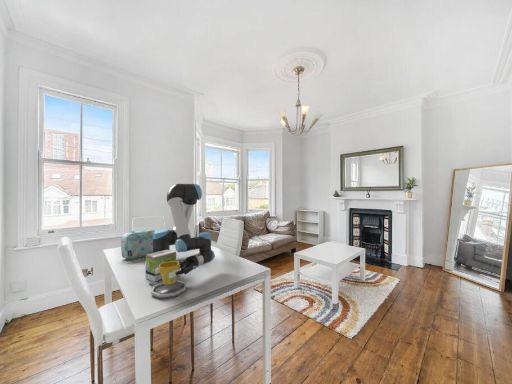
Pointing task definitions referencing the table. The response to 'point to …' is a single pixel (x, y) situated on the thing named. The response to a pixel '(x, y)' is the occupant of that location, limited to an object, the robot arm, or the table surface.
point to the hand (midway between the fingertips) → (162, 273)
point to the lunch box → (137, 244)
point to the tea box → (157, 263)
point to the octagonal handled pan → (168, 290)
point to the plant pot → (168, 271)
